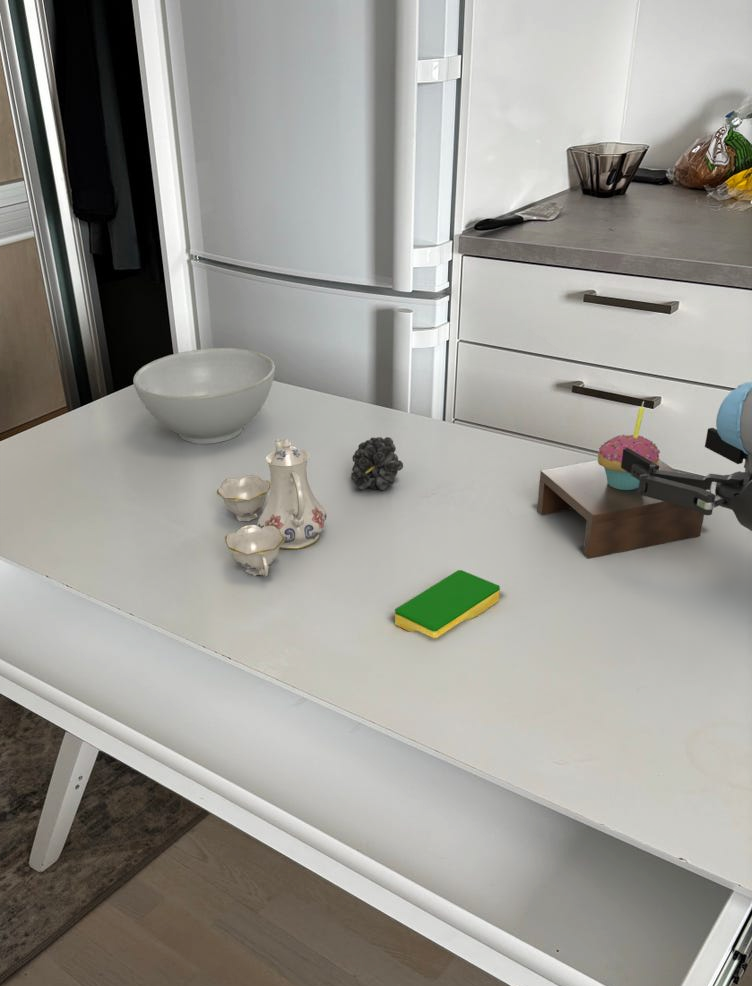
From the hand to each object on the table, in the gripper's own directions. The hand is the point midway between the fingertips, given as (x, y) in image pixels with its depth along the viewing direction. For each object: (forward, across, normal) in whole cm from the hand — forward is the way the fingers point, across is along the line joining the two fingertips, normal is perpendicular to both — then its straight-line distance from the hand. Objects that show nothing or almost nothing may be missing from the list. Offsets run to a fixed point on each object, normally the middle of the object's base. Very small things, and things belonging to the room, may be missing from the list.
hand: (666, 447), depth 134 cm
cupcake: (+7, 0, -9) cm, 11 cm away
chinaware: (+28, -48, -16) cm, 58 cm away
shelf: (+8, 0, -16) cm, 17 cm away
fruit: (+40, -25, -16) cm, 50 cm away
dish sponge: (-3, -34, -16) cm, 38 cm away
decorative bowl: (+75, -45, -16) cm, 89 cm away
